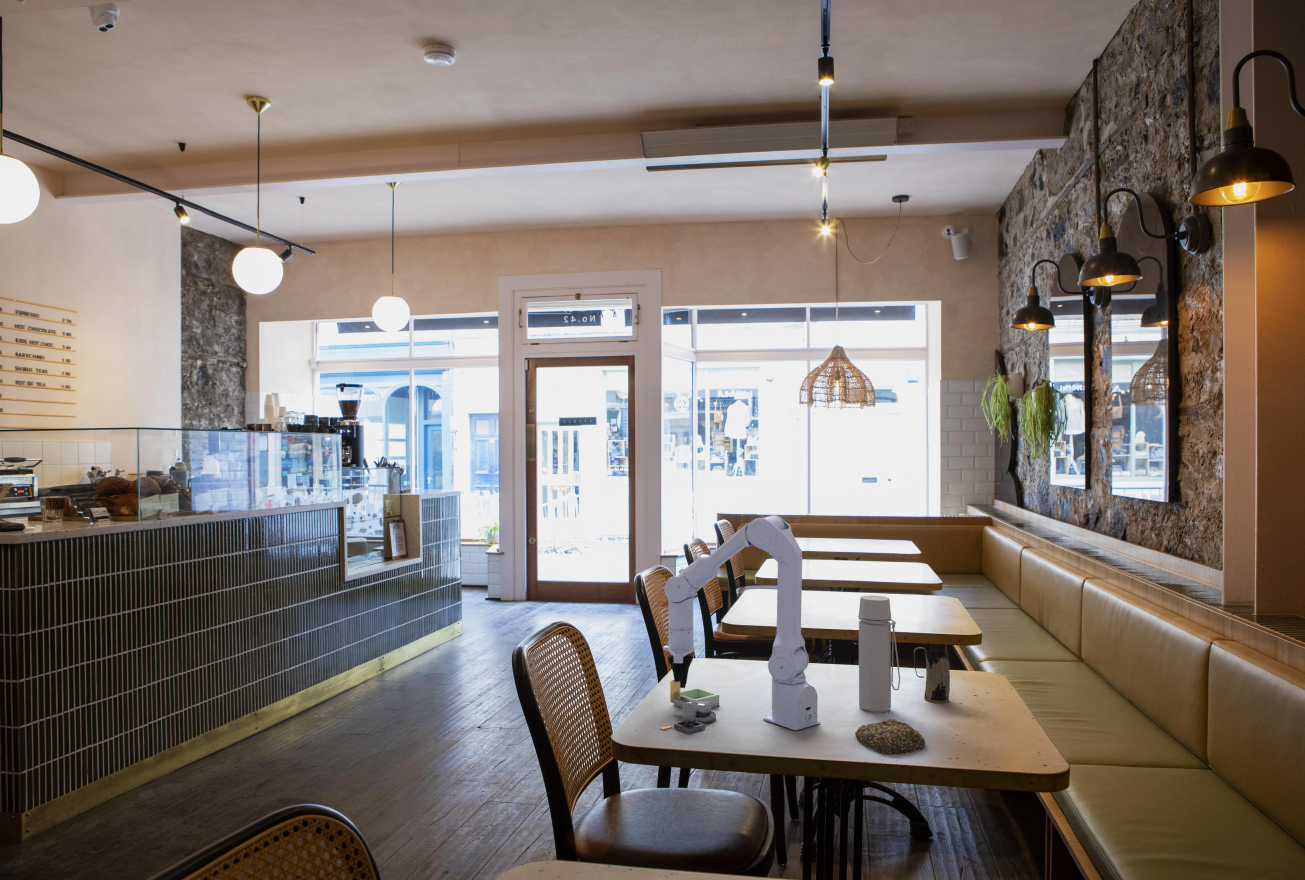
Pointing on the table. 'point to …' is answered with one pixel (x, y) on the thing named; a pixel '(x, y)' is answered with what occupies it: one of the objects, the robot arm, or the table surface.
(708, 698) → the tray
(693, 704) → the stop pin
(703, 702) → the crank
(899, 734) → the brown rock
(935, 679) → the mug
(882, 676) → the water bottle
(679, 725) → the crank base
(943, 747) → the table surface
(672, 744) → the table surface
